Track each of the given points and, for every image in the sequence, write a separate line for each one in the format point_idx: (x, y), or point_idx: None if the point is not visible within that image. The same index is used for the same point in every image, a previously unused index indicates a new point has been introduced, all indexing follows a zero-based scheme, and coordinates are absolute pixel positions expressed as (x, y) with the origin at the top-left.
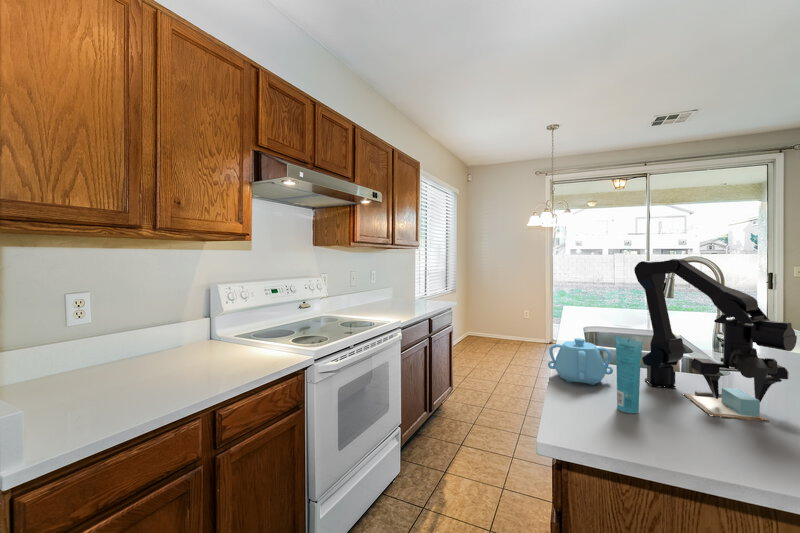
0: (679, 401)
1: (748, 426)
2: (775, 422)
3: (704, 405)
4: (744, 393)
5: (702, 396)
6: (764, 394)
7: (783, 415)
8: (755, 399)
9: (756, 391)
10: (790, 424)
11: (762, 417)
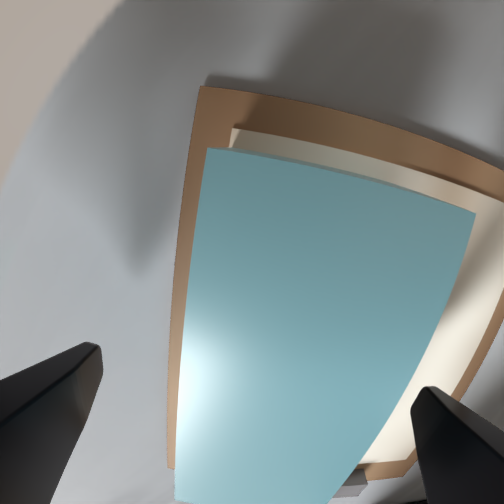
0: (499, 387)
1: (434, 22)
2: (153, 89)
3: (477, 338)
4: (213, 430)
5: None
6: (18, 373)
7: (18, 244)
8: (235, 215)
9: (62, 438)
10: (74, 76)
11: (208, 144)
